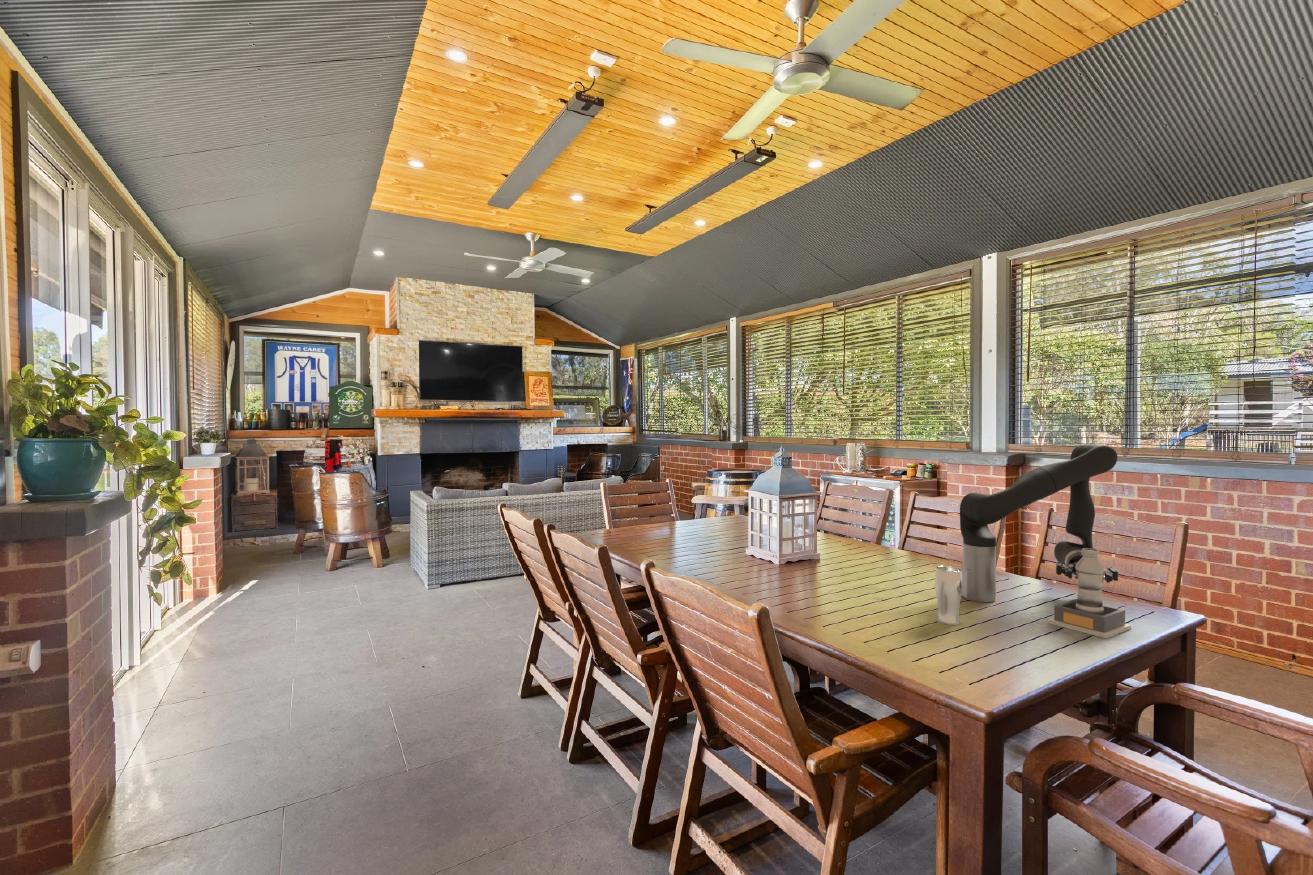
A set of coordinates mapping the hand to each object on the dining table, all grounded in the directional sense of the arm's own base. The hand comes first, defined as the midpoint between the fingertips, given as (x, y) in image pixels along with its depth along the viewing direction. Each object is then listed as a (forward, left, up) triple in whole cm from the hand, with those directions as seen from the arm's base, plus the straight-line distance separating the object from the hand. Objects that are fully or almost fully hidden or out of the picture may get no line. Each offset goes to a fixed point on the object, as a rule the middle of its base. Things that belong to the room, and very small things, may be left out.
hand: (1089, 576), depth 164 cm
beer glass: (-37, -2, -14) cm, 40 cm away
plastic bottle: (0, 0, -13) cm, 13 cm away
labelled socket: (0, 0, -13) cm, 13 cm away
